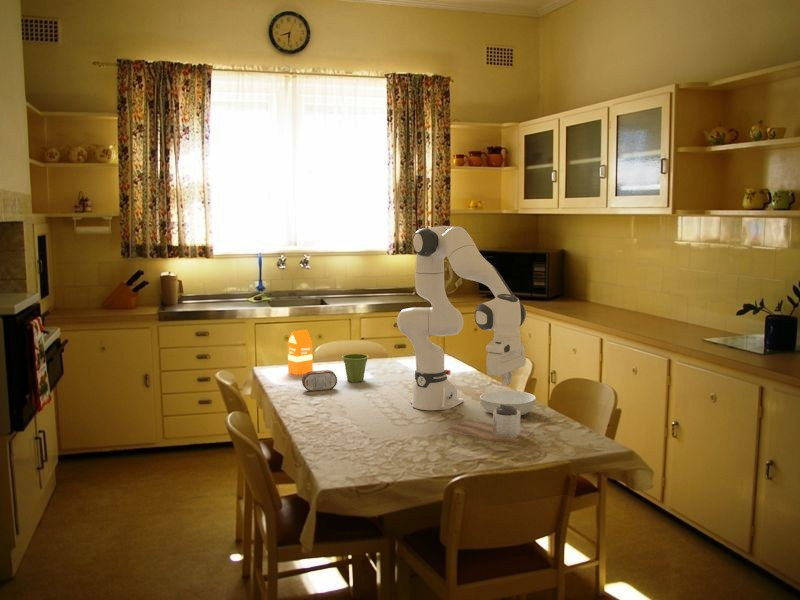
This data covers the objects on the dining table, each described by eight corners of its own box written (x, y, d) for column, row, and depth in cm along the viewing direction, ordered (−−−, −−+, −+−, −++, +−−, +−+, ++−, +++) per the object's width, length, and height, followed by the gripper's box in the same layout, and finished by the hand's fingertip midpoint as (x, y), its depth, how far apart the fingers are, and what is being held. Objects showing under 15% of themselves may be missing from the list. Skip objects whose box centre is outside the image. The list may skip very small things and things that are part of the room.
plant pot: (344, 384, 332) (344, 359, 330) (340, 378, 343) (340, 354, 342) (371, 382, 334) (370, 358, 333) (366, 377, 346) (365, 353, 344)
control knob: (502, 416, 257) (502, 401, 256) (520, 419, 253) (520, 404, 252) (492, 421, 251) (492, 405, 251) (510, 424, 247) (510, 409, 247)
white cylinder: (501, 429, 259) (501, 406, 258) (524, 434, 254) (525, 410, 252) (487, 435, 252) (488, 412, 251) (511, 440, 246) (511, 417, 245)
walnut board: (469, 423, 271) (469, 419, 271) (533, 436, 256) (533, 432, 255) (443, 434, 259) (443, 430, 259) (510, 448, 243) (510, 444, 243)
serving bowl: (524, 405, 295) (524, 388, 294) (543, 420, 275) (544, 402, 274) (473, 408, 292) (473, 391, 291) (488, 423, 271) (488, 405, 270)
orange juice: (288, 372, 357) (287, 330, 354) (303, 369, 363) (302, 328, 360) (297, 374, 351) (296, 332, 349) (313, 371, 357) (312, 330, 355)
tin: (336, 388, 326) (336, 368, 325) (338, 389, 323) (337, 370, 322) (302, 390, 321) (301, 371, 320) (303, 392, 318) (303, 373, 317)
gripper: (514, 337, 259) (513, 376, 261) (483, 347, 243) (482, 389, 245) (530, 339, 255) (530, 379, 257) (500, 349, 239) (499, 391, 241)
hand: (506, 384), depth 251 cm, fingers closed
